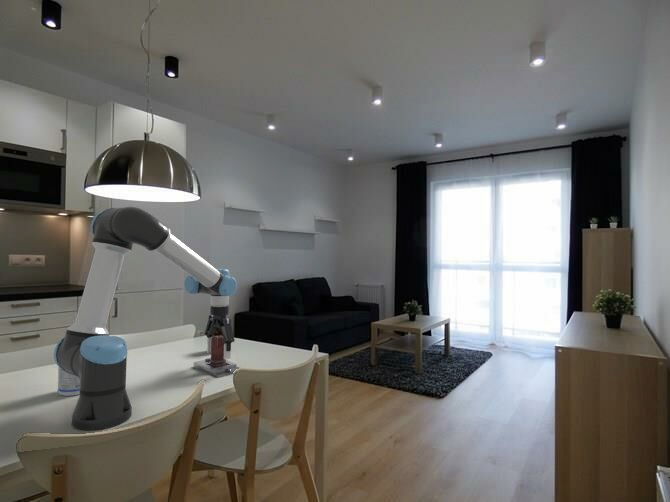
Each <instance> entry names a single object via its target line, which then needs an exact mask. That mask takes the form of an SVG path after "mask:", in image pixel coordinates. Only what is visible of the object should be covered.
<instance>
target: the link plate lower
mask: <svg viewBox="0 0 670 502" xmlns="http://www.w3.org/2000/svg"><path fill="white" fill-rule="evenodd" d="M226 366H227V365H226ZM239 368H241V367H239V366H237V365H236V367H231V368H226V369H222V370H217V371H213V372H210V371H207V370H205V369H203V368H200V369H199V370H200V371H201V372H202V371H203V372H204V373H206V374H209V375H210V376H213V377H216V378H217V379H218V378H222V377H225V376H226V377H227V376H230V375H234V374H233V372H234V371H235V370H236V369H239Z"/></svg>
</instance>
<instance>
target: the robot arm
mask: <svg viewBox="0 0 670 502" xmlns="http://www.w3.org/2000/svg"><path fill="white" fill-rule="evenodd" d="M90 230H91V231H90V232H91V233H92V235H93V237H92V241H91V245H92V246H93V247H94V249H95V252H94V254H93V258H92V261H91V265H90V269H89V272H88V275H87V279H86V283H85V286H84V290H83V293H82V295H81V300H80V304H79V306H78V307H79V308H78V310H77V314H76V316H75V321H74V323H73V324H72V325H70V326H68V327H67V328H66V330H65V336H64V337H63V338H62V339H60V340H59V341H58V343H57V344H56V345H55V347H54V350H53V359H54V362H55V364H56V366H57V367H59V368H61V369H62V370H63V371H65V372H66V373H69V374H73V375H75V376H78V377H80V394H79V395H78V396H79V397H78V398H77V402H76V404H75V407H74V410H73V412H72V414H71V427H72V428H74V429H76V430H81V431H96V430H103V429H108V428H112V427H115V426H118V425H120V424H123V423H125V422H126V421H127V420H129V419H130V418H131V417H132V415H133V413H132V412H133V409H132V408H133V407H132V403H131V401H130V398H129V395H128V393H127V392H128V391H127V388H126V387H127V385H126V383H127V357H128V347H127V341H126V340H125V339H123V338H122V337H120V336H118V335H117V336H116V335H110V332H109V330H108V329H107V327H106V326H107V323H108V319H109V315H110V312H111V308H112V304H113V301H114V297H115V293H116V289H117V287H118V282H119V278H120V274H121V271H122V267H123V264H124V259H125V256H126V255H128V254H130V253H131V252H132V249H133V245H134V244H135V245H139V246H141V247H143V248H145V249H146V250H148V251H149V252H154V251H155V252H156V253H157V254H159V255H160V256H162V257H163V258H165V259H166V260H167V261H169V262H170V263H172V264H173V265H175V266H176V267H177V268H179V269H180V270H181V271H183V272H184V273H186V274H187V275H188V276H186V277H185V279H184V282H183V283H184V290H185V291H186V292H187V293H188V294H189V295H190V294H192V295H196V294H205V295H210V305H211V306H210V314H209V315H208V320H207V324H206V327H205V330H204V335H205V336H206V338H207V345H206V346H207V348H206V353H207V354H209V353H210V354H211V338H212V336H214V333H215V331H216V329H217V327H218V328H219V329H220V330H221V332H222V335H223V337H224V340H225V342H224V359H226V360H229V359H231V355H232V353H231V352H232V351H231V350H232V343H235V337H234V332H233V328H232V321H231V318H230V317H229V318H227V315H229V312H230V306H229V305H230V297H231V296H232V295H234V294H235V293H236V291H237V288H238V282H237V280H236V278H234V277H233V276H230V275H231V274H230V269H227V268H215V267H214V266H213V265H212V264H211V263H209V262H208V261H206V259H204V258H203V257H202V256H200V255H199V254H198V253H196V252H195V251H194V250H193V249H191V248H190V247H189V246H188V245H186V244H185V243H184V242H182V240H180V239H178V238H177V237H176V236H175V235H173V234H172V233H171V229H170V228H169V226H167V224H165V223H163V222H162V221H160V220H159V219H158V218H157V217H156V216H154V215H153V214H151V213H149V212H148V211H146V210H144V209H142V208H139V207H135V206H126V207H110V208H106V209H104V210H101V211H98V213H97V214H96V215H94V217H93V219H92V220H91V223H90Z"/></svg>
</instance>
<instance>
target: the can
mask: <svg viewBox="0 0 670 502" xmlns="http://www.w3.org/2000/svg"><path fill="white" fill-rule="evenodd" d="M224 342H225V340H224V337H223V335H214V336H212V338H211V353H210V358H211V367H214V368H217V367H222V366H226V360H227V359H224Z"/></svg>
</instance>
